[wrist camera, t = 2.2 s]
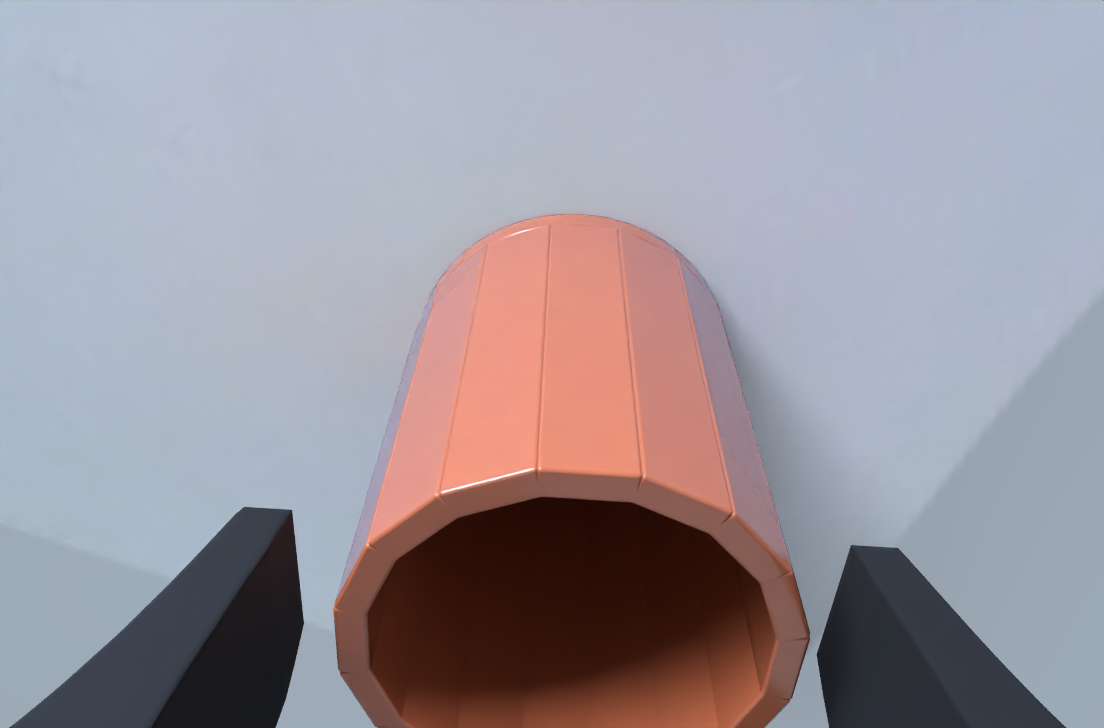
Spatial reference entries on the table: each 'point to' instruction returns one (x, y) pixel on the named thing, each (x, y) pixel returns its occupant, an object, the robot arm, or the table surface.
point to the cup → (570, 504)
